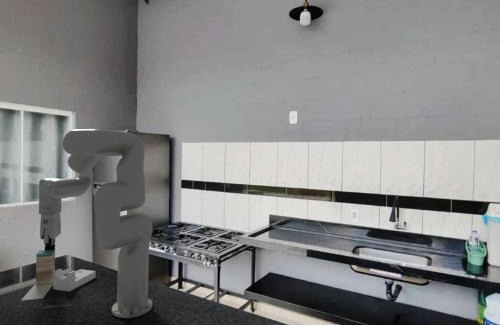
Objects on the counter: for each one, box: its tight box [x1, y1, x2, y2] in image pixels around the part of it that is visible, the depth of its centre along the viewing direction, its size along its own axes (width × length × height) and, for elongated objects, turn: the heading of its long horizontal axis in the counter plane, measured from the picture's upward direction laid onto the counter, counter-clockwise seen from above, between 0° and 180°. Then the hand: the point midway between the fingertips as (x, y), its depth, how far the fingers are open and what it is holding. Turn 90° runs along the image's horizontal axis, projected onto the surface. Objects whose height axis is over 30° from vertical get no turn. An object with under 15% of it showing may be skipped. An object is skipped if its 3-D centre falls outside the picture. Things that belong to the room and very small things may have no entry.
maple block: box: [35, 249, 56, 285], centre depth 117 cm, size 4×5×12 cm
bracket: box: [52, 268, 96, 292], centre depth 117 cm, size 13×7×8 cm, turn 167°
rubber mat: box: [20, 283, 53, 301], centre depth 113 cm, size 19×6×1 cm, turn 18°
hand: (49, 254), depth 121 cm, fingers closed
